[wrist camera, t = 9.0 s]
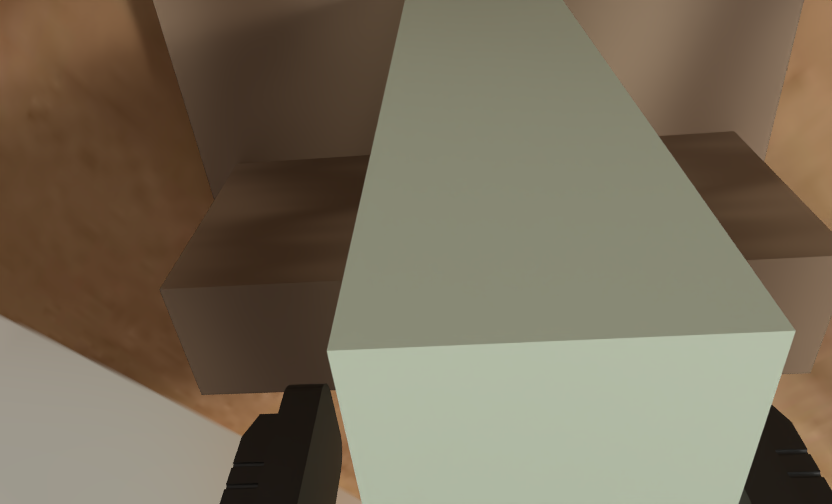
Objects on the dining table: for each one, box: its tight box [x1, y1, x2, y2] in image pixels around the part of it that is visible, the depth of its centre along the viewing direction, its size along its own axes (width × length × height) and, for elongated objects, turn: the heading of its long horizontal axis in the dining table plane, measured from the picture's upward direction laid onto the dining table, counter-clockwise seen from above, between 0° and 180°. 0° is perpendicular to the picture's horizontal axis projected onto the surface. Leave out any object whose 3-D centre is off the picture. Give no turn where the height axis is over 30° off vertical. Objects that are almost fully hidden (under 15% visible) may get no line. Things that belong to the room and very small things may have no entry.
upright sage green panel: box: [327, 0, 796, 504], centre depth 13 cm, size 3×12×13 cm, turn 5°
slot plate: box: [153, 0, 832, 395], centre depth 16 cm, size 16×14×7 cm
